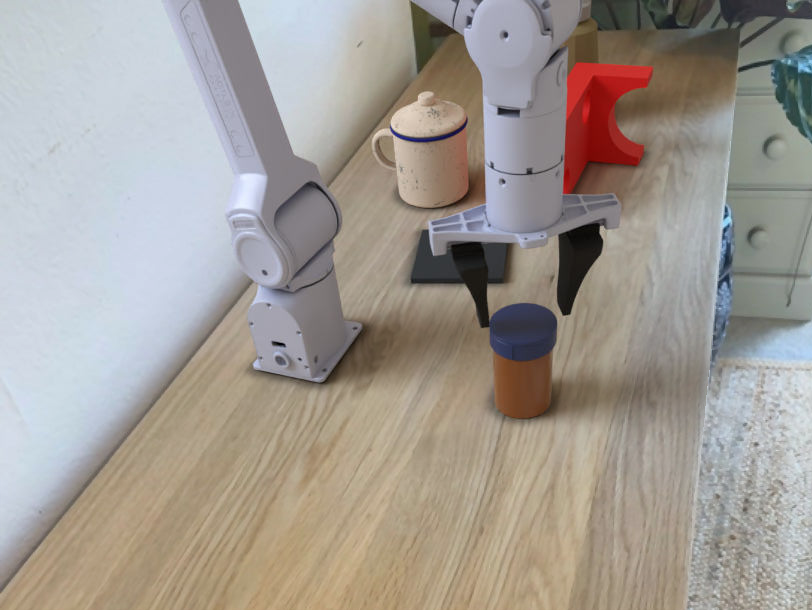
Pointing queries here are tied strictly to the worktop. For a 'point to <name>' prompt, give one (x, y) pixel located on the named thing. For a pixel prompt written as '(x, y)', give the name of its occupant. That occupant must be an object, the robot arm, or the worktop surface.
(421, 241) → the coaster
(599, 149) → the bracket
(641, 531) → the worktop surface
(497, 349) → the jar lid
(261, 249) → the robot arm
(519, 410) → the jar
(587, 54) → the squeeze bottle
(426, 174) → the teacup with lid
